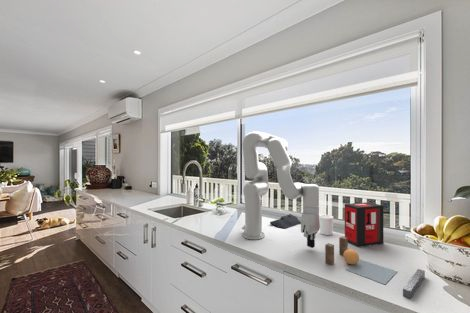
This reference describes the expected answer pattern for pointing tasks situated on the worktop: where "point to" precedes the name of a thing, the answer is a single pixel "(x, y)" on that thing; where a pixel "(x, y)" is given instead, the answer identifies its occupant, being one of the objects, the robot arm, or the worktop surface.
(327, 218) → the white cup
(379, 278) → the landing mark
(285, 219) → the dark slate chunk
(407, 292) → the wall
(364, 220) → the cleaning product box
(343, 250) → the post
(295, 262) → the worktop surface
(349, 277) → the worktop surface
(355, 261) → the ball
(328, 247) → the post
